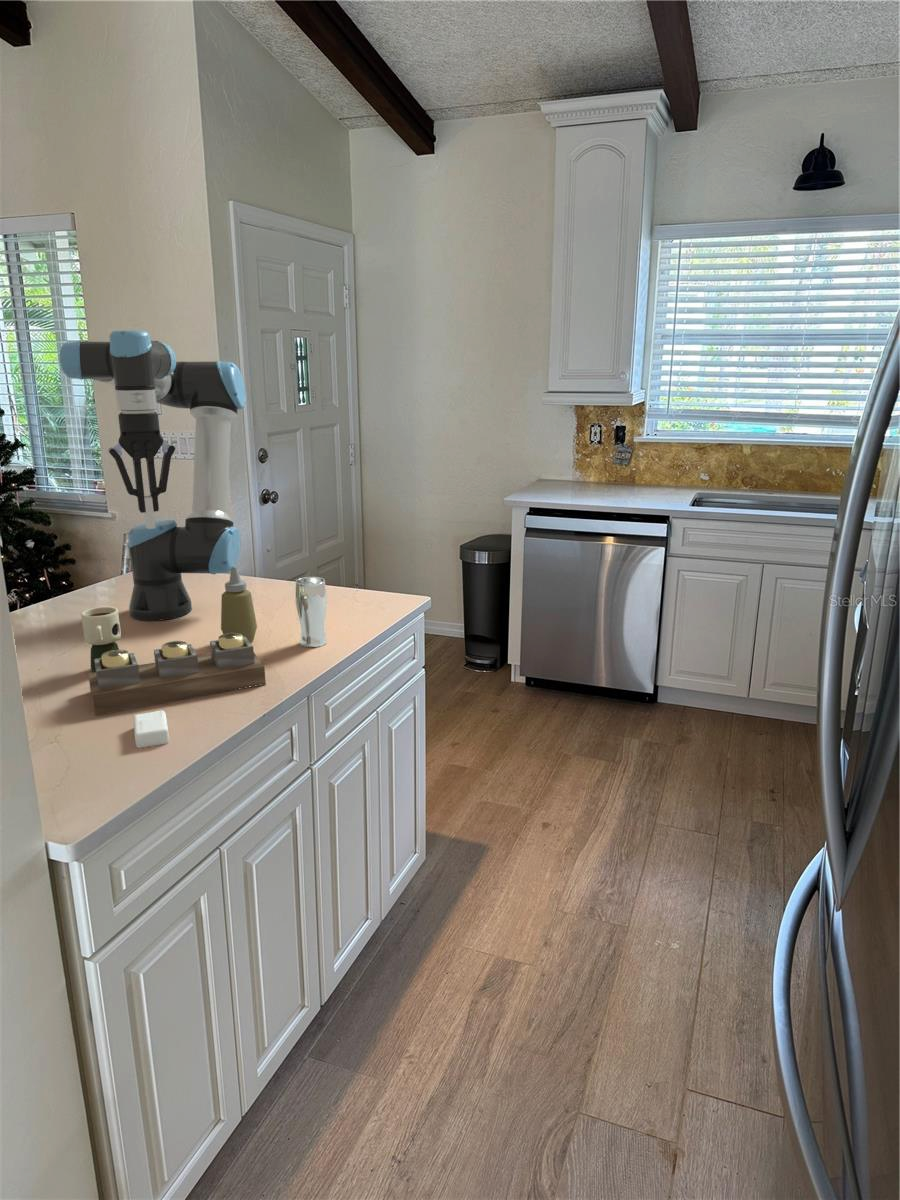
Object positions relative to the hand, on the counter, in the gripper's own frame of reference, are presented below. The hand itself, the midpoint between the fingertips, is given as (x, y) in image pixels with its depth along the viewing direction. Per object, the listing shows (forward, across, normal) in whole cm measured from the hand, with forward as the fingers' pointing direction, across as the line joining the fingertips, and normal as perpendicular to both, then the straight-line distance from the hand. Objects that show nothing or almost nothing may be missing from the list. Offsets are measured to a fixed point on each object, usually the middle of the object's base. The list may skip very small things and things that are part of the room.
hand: (150, 527), depth 172 cm
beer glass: (+30, +32, -5) cm, 44 cm away
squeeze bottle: (+30, +17, +3) cm, 34 cm away
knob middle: (+25, 0, -18) cm, 31 cm away
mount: (+29, 0, -18) cm, 34 cm away
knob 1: (+25, -11, -18) cm, 33 cm away
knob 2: (+25, +11, -18) cm, 33 cm away
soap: (+30, -8, -37) cm, 48 cm away
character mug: (+30, -12, -1) cm, 32 cm away
